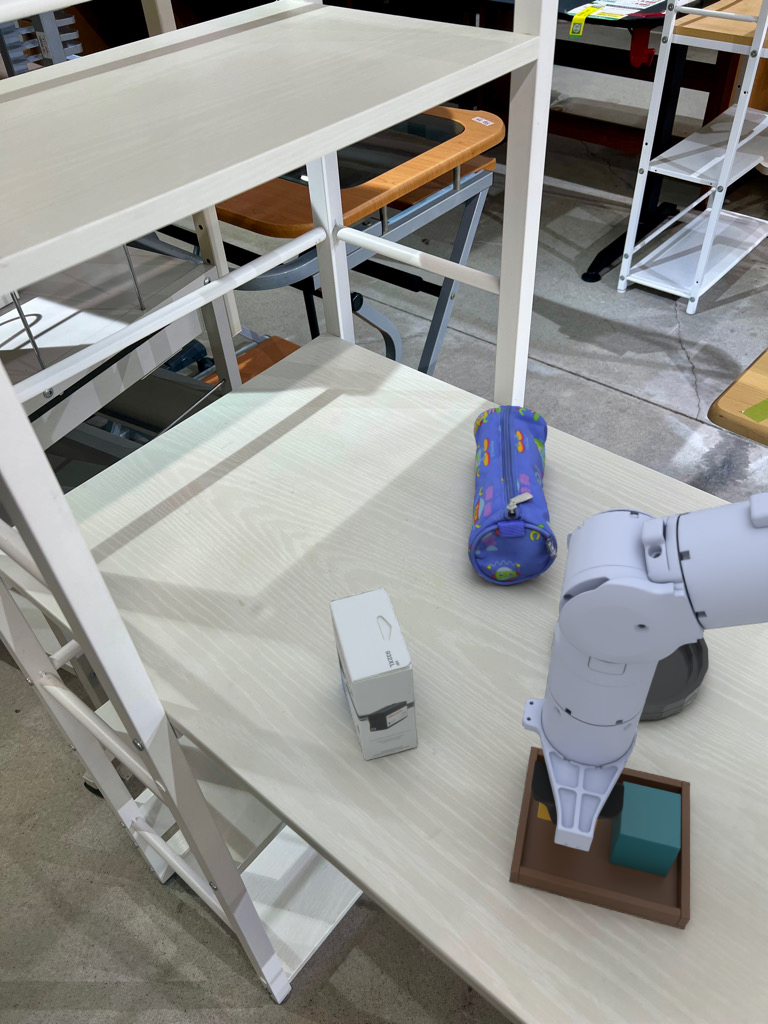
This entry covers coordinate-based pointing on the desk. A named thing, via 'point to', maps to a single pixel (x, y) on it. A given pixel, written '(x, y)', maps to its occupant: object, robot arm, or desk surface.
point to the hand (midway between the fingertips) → (570, 791)
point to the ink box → (375, 672)
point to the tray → (603, 860)
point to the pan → (676, 680)
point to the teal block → (647, 830)
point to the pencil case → (510, 497)
